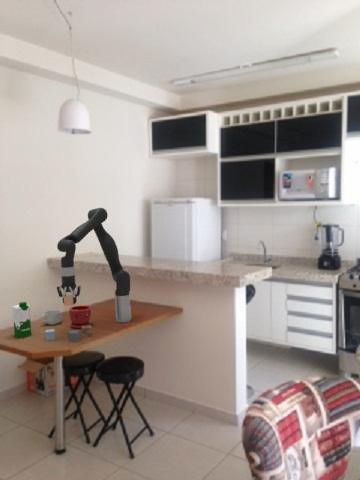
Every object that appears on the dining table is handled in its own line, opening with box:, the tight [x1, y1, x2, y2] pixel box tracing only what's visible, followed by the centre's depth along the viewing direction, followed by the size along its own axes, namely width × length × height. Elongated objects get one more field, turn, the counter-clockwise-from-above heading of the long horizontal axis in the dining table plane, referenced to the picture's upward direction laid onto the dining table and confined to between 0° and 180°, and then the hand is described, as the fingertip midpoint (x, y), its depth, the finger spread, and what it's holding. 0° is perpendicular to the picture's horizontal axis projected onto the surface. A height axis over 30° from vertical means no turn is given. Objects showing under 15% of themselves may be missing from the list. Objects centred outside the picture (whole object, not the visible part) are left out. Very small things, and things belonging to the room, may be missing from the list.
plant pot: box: [68, 305, 92, 329], centre depth 266 cm, size 13×13×12 cm
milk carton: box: [11, 301, 33, 339], centre depth 250 cm, size 9×9×20 cm
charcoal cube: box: [67, 329, 82, 343], centre depth 240 cm, size 5×5×5 cm
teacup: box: [40, 309, 63, 326], centre depth 274 cm, size 14×11×8 cm
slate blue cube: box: [45, 328, 56, 342], centre depth 243 cm, size 5×5×5 cm
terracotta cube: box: [63, 294, 75, 307], centre depth 245 cm, size 5×5×5 cm
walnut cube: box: [81, 324, 93, 338], centre depth 248 cm, size 5×5×5 cm
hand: (69, 303), depth 245 cm, fingers closed on terracotta cube, 5 cm apart
